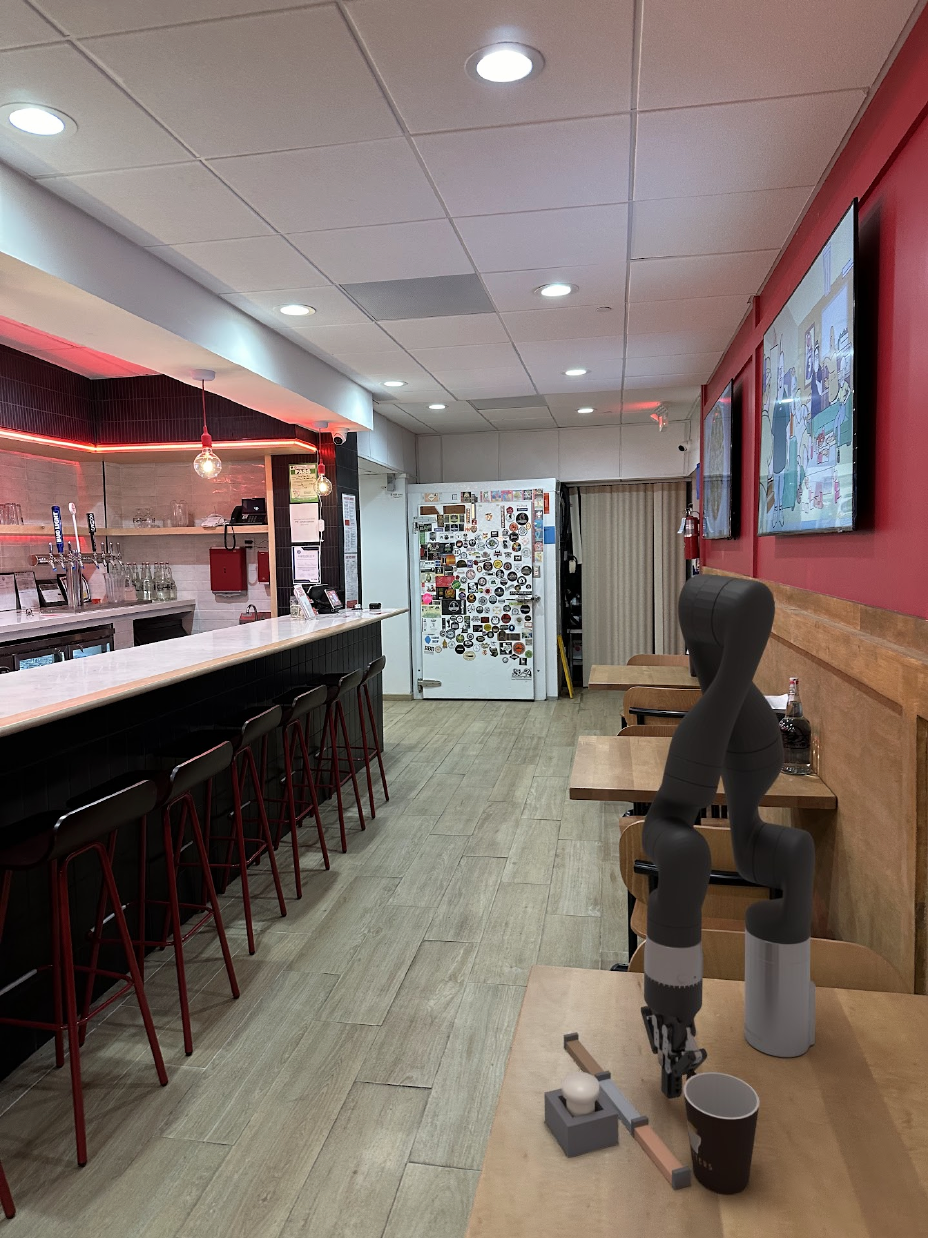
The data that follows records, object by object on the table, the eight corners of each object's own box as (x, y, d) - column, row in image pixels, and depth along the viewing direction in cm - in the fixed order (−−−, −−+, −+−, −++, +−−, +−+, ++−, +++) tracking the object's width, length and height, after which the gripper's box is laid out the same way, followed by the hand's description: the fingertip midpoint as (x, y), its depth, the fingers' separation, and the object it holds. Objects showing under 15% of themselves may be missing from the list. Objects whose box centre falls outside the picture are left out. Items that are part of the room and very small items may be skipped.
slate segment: (608, 1084, 116) (608, 1070, 116) (646, 1130, 107) (646, 1115, 107) (594, 1087, 116) (594, 1074, 115) (631, 1134, 106) (631, 1119, 106)
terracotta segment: (646, 1130, 107) (646, 1115, 107) (690, 1185, 97) (690, 1169, 97) (631, 1134, 106) (631, 1119, 106) (674, 1190, 97) (674, 1174, 97)
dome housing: (592, 1109, 111) (592, 1081, 111) (618, 1144, 104) (618, 1114, 104) (544, 1121, 109) (544, 1092, 109) (568, 1158, 102) (567, 1127, 102)
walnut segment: (576, 1045, 126) (576, 1032, 126) (608, 1084, 116) (608, 1070, 116) (563, 1048, 125) (563, 1035, 125) (594, 1087, 116) (594, 1074, 115)
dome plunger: (588, 1112, 110) (588, 1068, 109) (606, 1135, 105) (606, 1090, 105) (555, 1120, 108) (555, 1076, 108) (572, 1145, 104) (571, 1099, 103)
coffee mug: (763, 1207, 94) (764, 1123, 93) (685, 1196, 96) (685, 1114, 95) (750, 1137, 105) (751, 1062, 105) (680, 1128, 107) (680, 1054, 106)
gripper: (728, 989, 104) (725, 1120, 105) (670, 943, 117) (668, 1061, 118) (676, 999, 102) (674, 1133, 103) (623, 951, 114) (621, 1071, 116)
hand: (671, 1094), depth 110 cm, fingers closed
